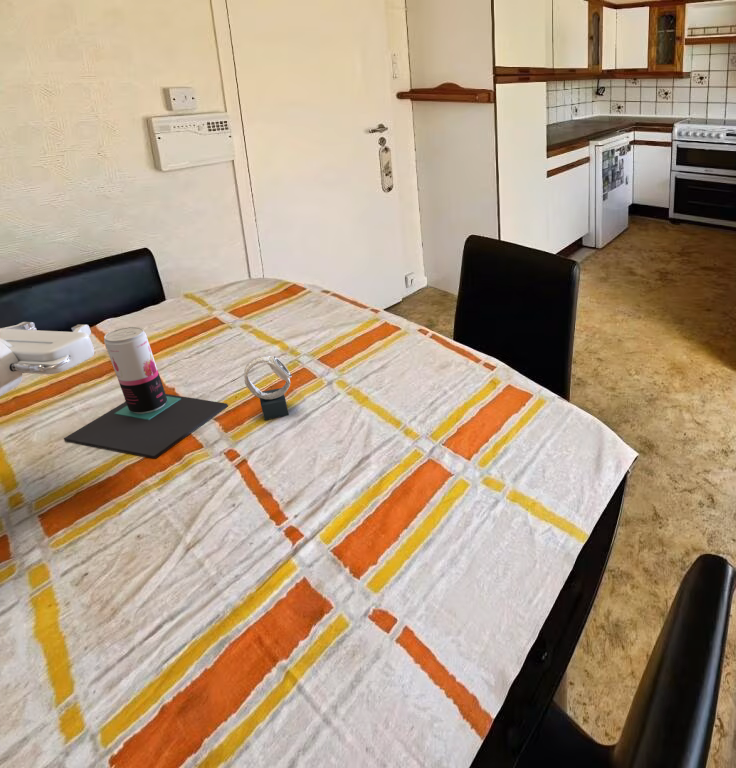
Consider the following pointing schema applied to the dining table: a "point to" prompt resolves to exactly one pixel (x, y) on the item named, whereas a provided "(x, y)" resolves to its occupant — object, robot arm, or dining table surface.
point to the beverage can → (135, 369)
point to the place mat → (147, 428)
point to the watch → (271, 399)
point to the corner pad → (148, 416)
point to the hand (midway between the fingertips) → (58, 327)
